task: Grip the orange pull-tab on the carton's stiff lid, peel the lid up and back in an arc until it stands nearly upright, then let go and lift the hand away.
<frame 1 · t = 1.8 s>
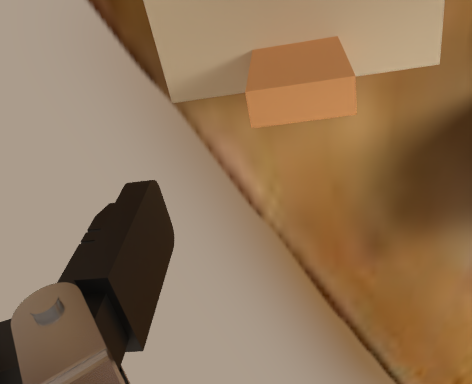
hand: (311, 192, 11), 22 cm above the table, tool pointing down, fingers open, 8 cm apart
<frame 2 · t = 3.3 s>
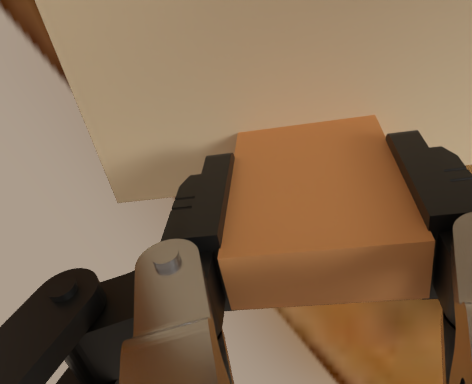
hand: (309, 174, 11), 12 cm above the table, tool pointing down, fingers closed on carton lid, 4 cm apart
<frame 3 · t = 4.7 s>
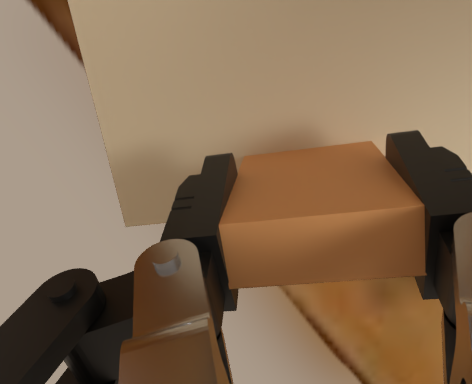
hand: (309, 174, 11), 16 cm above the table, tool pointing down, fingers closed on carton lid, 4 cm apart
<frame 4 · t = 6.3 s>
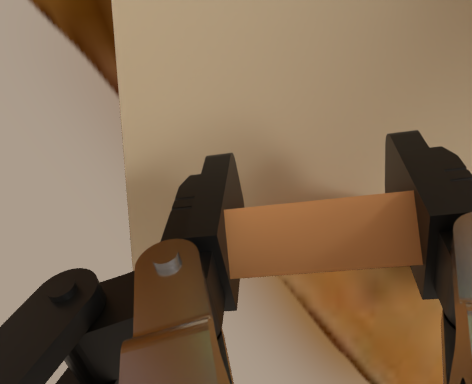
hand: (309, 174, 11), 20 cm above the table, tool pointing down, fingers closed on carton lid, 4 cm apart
carton lid: (293, 25, 12), point 17 cm above the table, hinge at 38.5°, touching gripper
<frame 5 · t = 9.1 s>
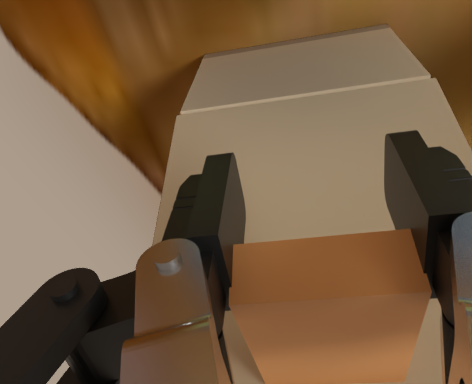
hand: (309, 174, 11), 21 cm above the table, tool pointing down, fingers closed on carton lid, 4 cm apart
carton lid: (308, 165, 15), point 18 cm above the table, hinge at 76.1°, touching gripper
carton: (302, 132, 34), on the table
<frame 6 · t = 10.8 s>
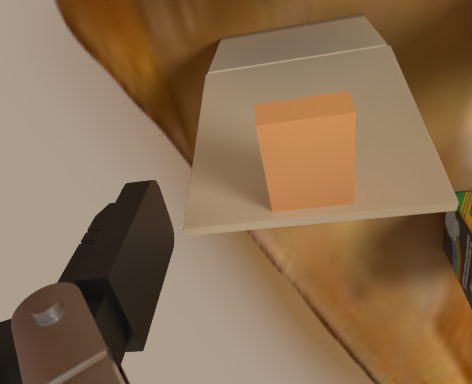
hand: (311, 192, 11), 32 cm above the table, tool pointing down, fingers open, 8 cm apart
carton lid: (299, 88, 24), point 18 cm above the table, hinge at 76.8°
carton: (298, 102, 43), on the table
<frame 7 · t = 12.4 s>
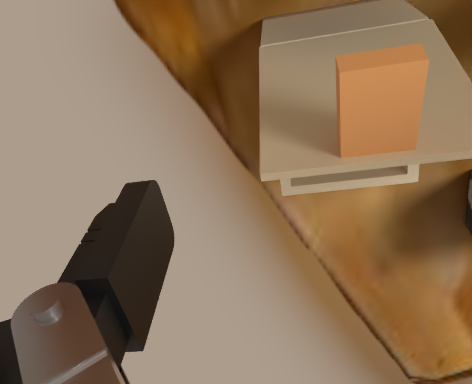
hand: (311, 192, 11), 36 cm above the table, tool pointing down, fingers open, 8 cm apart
carton lid: (358, 52, 26), point 18 cm above the table, hinge at 76.8°
carton: (332, 80, 46), on the table
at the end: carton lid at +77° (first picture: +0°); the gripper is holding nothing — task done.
